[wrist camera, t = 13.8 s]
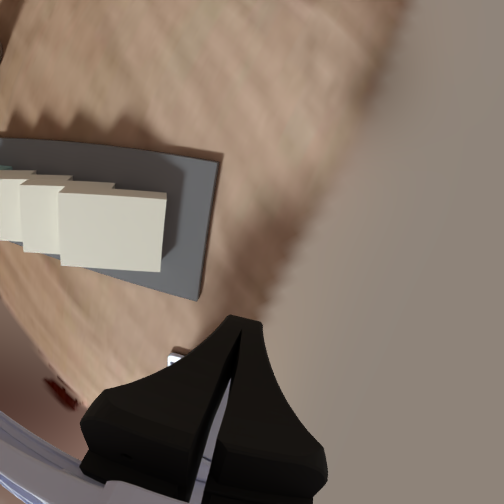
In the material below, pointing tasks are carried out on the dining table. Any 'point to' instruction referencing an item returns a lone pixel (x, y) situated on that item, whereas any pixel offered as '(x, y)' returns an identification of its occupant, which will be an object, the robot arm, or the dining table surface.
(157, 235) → the ivory domino
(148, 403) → the robot arm
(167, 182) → the charcoal mat
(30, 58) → the dining table surface
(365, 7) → the dining table surface
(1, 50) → the green drink can
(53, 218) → the ivory domino
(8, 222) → the ivory domino
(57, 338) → the dining table surface
